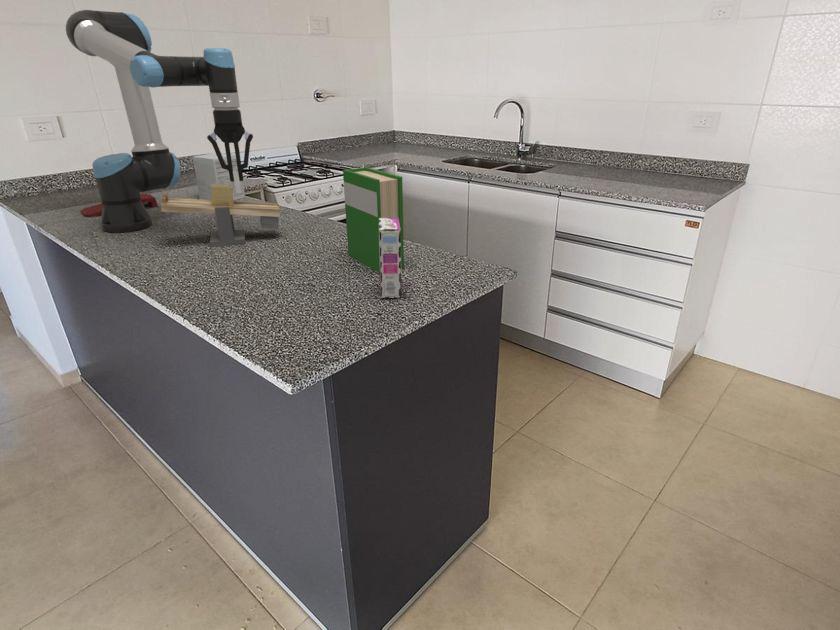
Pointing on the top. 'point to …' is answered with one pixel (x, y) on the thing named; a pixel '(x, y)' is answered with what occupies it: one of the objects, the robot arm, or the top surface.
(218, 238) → the pivot stand
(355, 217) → the hardback book
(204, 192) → the supplement box
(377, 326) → the top surface
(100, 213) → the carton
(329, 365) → the top surface
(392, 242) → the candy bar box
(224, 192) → the rider
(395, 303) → the top surface
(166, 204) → the beam
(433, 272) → the top surface
